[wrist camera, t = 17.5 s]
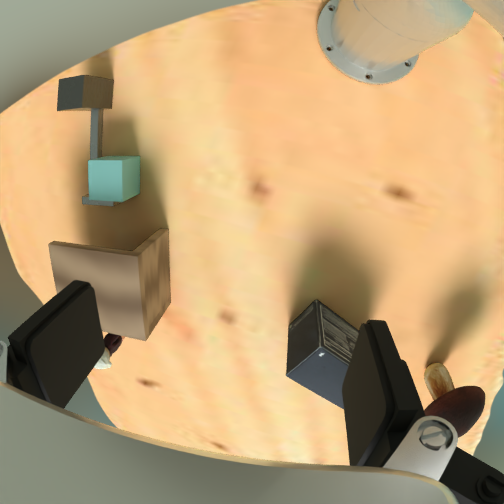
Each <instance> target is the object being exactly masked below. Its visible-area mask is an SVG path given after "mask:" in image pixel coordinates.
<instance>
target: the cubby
mask: <svg viewBox="0 0 504 504" xmlns="http://www.w3.org/2000/svg"><path fill="white" fill-rule="evenodd" d="M48 245H49V252H50V258H51V264H52V270H53V276H54V281H55V286H56V291H57V294H58V293H59V292H60V291H61V290H63V289H64V288H65V287H66V286H67V285H69V284H70V283H71V282H72V281H74V280H81V281H86V282H89V283H90V284H91V287H93V288H94V290H95V296H96V302H97V308H98V313H99V319H100V324H101V329H102V331H104V332H108V333H112V334H116V335H121V336H125V337H129V338H134V339H138V340H143V341H146V340H147V339H148V337H149V335H150V334H151V332H152V331H153V329H154V328H155V326H156V325H157V323H158V322H159V320H160V318H161V317H162V315H163V314H164V312H165V311H166V309H167V308H168V306H169V305H170V303H171V294H170V268H169V229H162V228H160V229H159V230H158V231H156V232H155V233H154V234H153V235H152V236H150V237H149V238H148V239H147V240H146V241H144V242H143V243H142V244H141V245H140V246H138V247H137V248H136V249H135V250H134V251H126V250H119V249H111V248H103V247H96V246H88V245H81V244H73V243H66V242H58V241H53V242H51V243H49V244H48Z"/></svg>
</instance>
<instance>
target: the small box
mask: <svg viewBox="0 0 504 504" xmlns="http://www.w3.org/2000/svg"><path fill="white" fill-rule="evenodd" d="M358 334H359V331H358V330H357V329H356V328H354V327H353V326H352V325H350V324H349V323H348V322H346V321H345V320H344V319H342V318H341V317H340V316H339V315H337V314H336V313H334V312H333V311H332V310H330V309H329V308H328V307H327V306H325V305H324V304H322V303H321V302H320V301H318V300H314V302H312V303H311V305H310V306H308V308H307V309H306V310H305V311H304V312H303V313H302V314H301V315H300V316H299V317H298V318H296V319H295V320H294V321H293V322H292V323H291V324H290V325H289V327H288V351H287V370H286V376H287V377H289V378H290V379H292V380H294V381H295V382H297V383H299V384H300V385H302V386H304V387H306V388H307V389H309V390H311V391H312V392H314V393H316V394H318V395H319V396H321V397H323V398H325V399H326V400H328V401H330V402H332V403H333V404H335V405H337V406H339V407H341V408H342V409H344V405H343V397H342V385H343V381H344V378H345V375H346V372H347V369H348V366H349V363H350V360H351V357H352V353H353V350H354V347H355V344H356V340H357V337H358Z"/></svg>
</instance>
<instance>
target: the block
mask: <svg viewBox="0 0 504 504" xmlns="http://www.w3.org/2000/svg"><path fill="white" fill-rule="evenodd" d="M88 181H89V200H100V201H115V202H124V201H126V200H128V199H130V198H132V197H134V196H136V195H138V194H140V156H105V157H101V158H96V159H92V160H88Z"/></svg>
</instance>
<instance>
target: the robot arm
mask: <svg viewBox="0 0 504 504" xmlns="http://www.w3.org/2000/svg"><path fill="white" fill-rule="evenodd" d="M329 9H332V10H333V11H330V10H329ZM474 11H475V12H476V13H478V14H479V15H480V16H481V17H482V18H483V19H485V20H486V21H487V22H489V23H490V24H491V25H492V26H493V27H494V28H495V29H496V30H497V31H498V32H499V33H500V34H501V35H502V36H503V37H504V0H330V1H329V2H328V3H327V4H326V5H325V6H324V8H323V9H322V11H321V13H320V16H319V19H318V23H317V36H318V41H319V44H320V47H321V49H322V51H323V53H324V54H325V56H326V58H327V59H328V60H329V61H330V63H331V64H332V65H333V66H334V67H335V68H337V69H338V70H339V71H340V72H341V73H343V74H345V75H346V76H348V77H349V78H352V79H354V80H357V81H359V82H363V83H367V84H377V85H380V84H388V83H391V82H394V81H397V80H399V79H401V78H403V77H404V76H405V75H407V74H408V73H409V72H410V71H411V70H412V69H413V68H414V66H415V64H416V62H417V60H418V56H419V53H421V52H423V51H425V50H427V49H429V48H430V47H432V46H434V45H436V44H438V43H440V42H442V41H444V40H446V39H448V38H449V37H451V36H453V35H455V34H457V33H458V32H460V31H461V30H462V29H463V28H464V27H465V26H466V25H467V24H468V22H469V21H470V19H471V17H472V15H473V12H474ZM327 48H330V49H331V51H328V50H327ZM405 63H406V64H407V65H408V66H406V65H405ZM366 75H368V76H369V79H367V78H366ZM8 339H9V342H10V345H9V346H8V347H7V345H6V344H5V342H3V341H1V340H0V504H504V474H502V473H501V472H500V471H498V470H496V469H495V468H493V467H491V466H489V465H487V464H486V463H484V462H482V461H480V460H478V459H477V458H475V457H473V456H472V455H470V454H468V453H467V452H465V451H463V450H461V449H460V448H458V447H456V446H457V442H458V435H457V432H456V430H455V428H454V427H453V426H452V424H451V423H450V422H448V421H447V420H445V419H443V418H440V417H437V416H426V415H425V412H424V409H423V407H422V404H421V401H420V398H419V395H418V393H417V390H416V387H415V384H414V382H413V379H412V376H411V374H410V371H409V369H408V366H407V364H406V362H405V361H404V360H401V359H400V356H399V353H398V351H397V348H396V346H395V343H394V341H393V338H392V336H391V333H390V331H389V328H388V326H387V323H386V321H382V320H368V321H367V323H366V324H364V323H363V324H362V325H361V327H360V330H359V334H358V337H357V340H356V344H355V347H354V350H353V353H352V357H351V360H350V363H349V366H348V369H347V372H346V375H345V378H344V381H343V385H342V397H343V405H344V413H345V421H346V430H347V440H348V450H349V460H350V466H345V465H321V464H305V463H292V462H282V461H271V460H262V459H254V458H247V457H239V456H233V455H227V454H221V453H215V452H210V451H205V450H199V449H195V448H190V447H185V446H181V445H176V444H172V443H168V442H164V441H160V440H156V439H152V438H149V437H145V436H141V435H138V434H134V433H131V432H128V431H124V430H121V429H118V428H115V427H111V426H109V425H106V424H103V423H100V422H97V421H94V420H91V419H89V418H86V417H83V416H80V415H78V414H75V413H73V412H70V411H67V410H65V409H64V408H65V406H66V405H67V403H68V402H69V401H70V399H71V398H72V396H73V395H74V394H75V392H76V391H77V389H78V388H79V387H80V385H81V384H82V382H83V381H84V380H85V378H86V377H87V376H88V374H89V373H90V372H91V370H92V369H93V368H94V366H95V365H96V364H97V362H98V361H99V359H100V358H101V357H102V355H103V354H104V351H105V343H104V339H103V334H102V329H101V324H100V319H99V313H98V308H97V302H96V296H95V290H94V288H93V287H91V284H90V283H89V282H86V281H81V280H74V281H72V282H71V283H70V284H69V285H67V286H66V287H65V288H64V289H63V290H61V291H60V292H59V293H58V294H57V295H55V296H54V297H53V298H52V299H51V300H49V301H48V302H47V303H46V304H45V305H44V306H42V307H41V308H40V309H39V310H38V311H37V312H35V313H34V314H33V315H32V316H31V317H30V318H29V319H28V320H27V321H25V322H24V323H23V324H22V325H21V326H20V327H18V328H17V329H16V330H15V331H14V332H13V333H12V334H11V335H10V336H9V337H8Z"/></svg>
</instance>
